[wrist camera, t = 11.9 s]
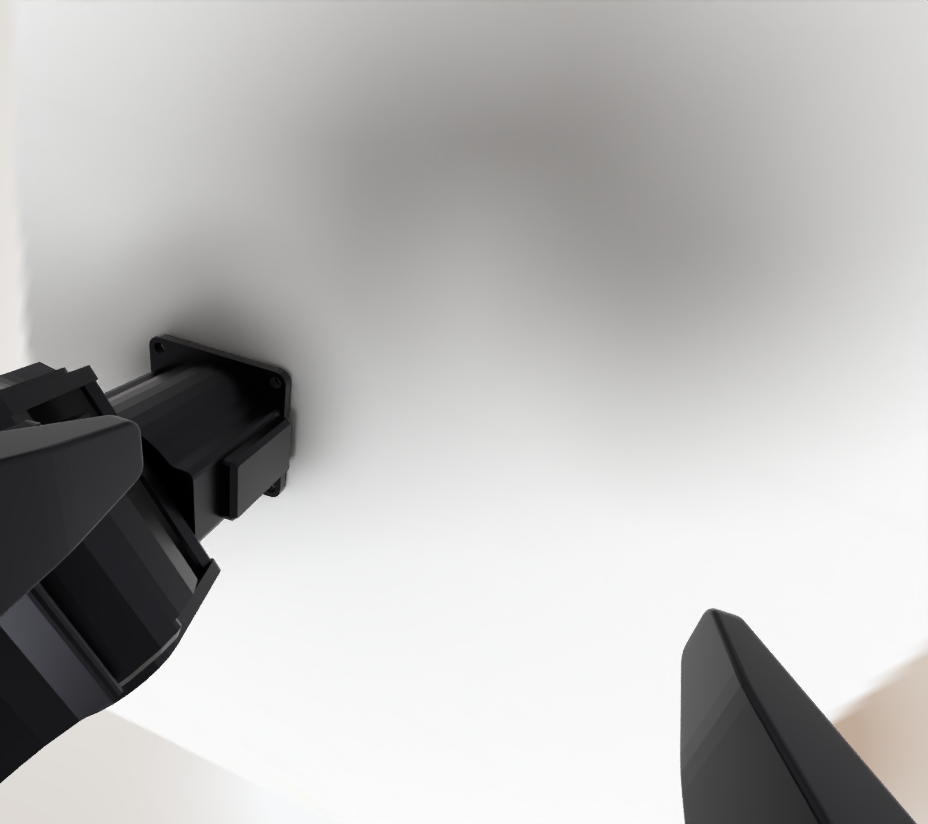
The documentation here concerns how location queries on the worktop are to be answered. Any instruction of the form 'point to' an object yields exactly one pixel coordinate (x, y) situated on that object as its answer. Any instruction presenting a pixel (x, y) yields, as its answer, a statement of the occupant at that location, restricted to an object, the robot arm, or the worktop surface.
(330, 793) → the worktop surface
